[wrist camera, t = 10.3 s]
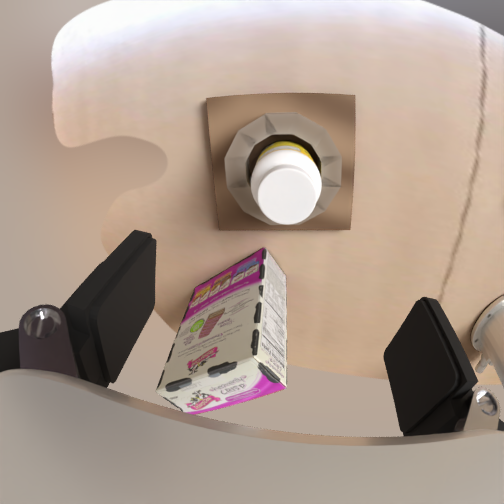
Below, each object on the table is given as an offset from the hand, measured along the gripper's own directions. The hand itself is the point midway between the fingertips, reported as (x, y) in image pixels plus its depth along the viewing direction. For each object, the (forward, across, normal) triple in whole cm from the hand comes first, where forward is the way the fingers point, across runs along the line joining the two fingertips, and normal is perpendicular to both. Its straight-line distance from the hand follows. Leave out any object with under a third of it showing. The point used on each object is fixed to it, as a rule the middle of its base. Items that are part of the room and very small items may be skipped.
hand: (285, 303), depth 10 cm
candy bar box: (+22, +2, +15) cm, 27 cm away
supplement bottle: (+21, 0, 0) cm, 21 cm away
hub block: (+22, 0, 0) cm, 22 cm away
